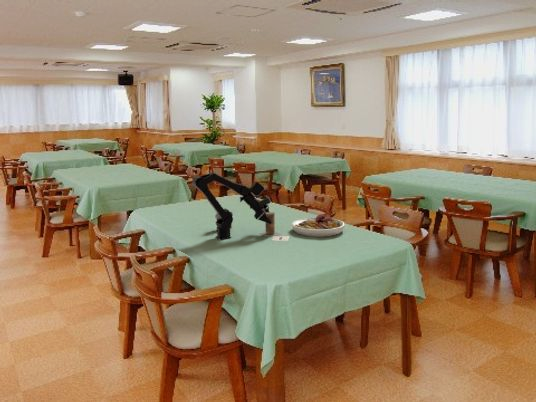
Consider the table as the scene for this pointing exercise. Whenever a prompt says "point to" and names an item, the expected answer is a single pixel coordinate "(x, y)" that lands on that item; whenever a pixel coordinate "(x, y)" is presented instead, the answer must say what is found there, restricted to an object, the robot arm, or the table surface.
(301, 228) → the bowl
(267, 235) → the rest mat
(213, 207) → the robot arm
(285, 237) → the tile
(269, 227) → the walnut block
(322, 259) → the table surface
